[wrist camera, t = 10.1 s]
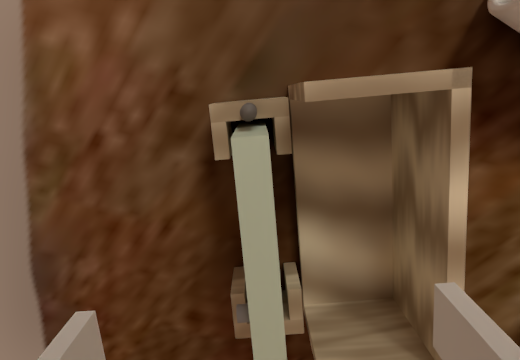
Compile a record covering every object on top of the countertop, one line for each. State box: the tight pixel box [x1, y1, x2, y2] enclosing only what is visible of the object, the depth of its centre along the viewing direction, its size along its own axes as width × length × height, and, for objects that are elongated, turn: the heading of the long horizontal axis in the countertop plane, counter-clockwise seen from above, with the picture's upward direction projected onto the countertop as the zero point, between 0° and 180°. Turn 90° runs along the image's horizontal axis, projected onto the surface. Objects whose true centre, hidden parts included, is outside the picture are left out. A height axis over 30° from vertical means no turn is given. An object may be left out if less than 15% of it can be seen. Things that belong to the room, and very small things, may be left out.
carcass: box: [209, 67, 472, 360], centre depth 26 cm, size 19×14×10 cm
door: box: [231, 121, 287, 360], centre depth 26 cm, size 14×3×10 cm, turn 5°
